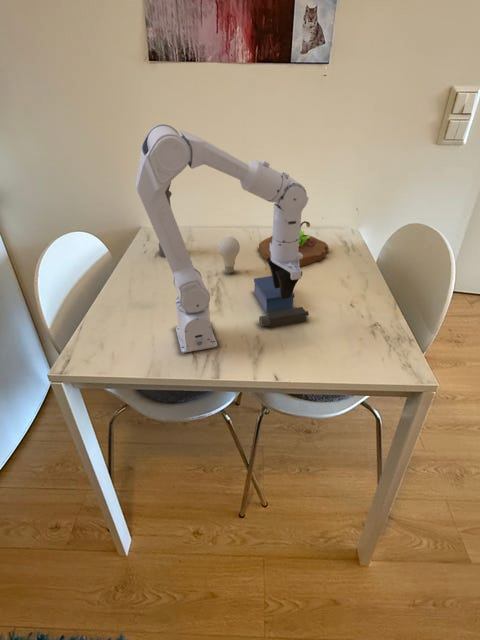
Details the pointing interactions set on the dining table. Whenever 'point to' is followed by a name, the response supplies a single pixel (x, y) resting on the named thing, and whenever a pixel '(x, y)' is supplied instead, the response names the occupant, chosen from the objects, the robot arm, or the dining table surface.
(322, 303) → the dining table surface
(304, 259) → the plant
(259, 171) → the robot arm
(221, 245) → the lightbulb
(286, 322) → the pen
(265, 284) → the blue box
